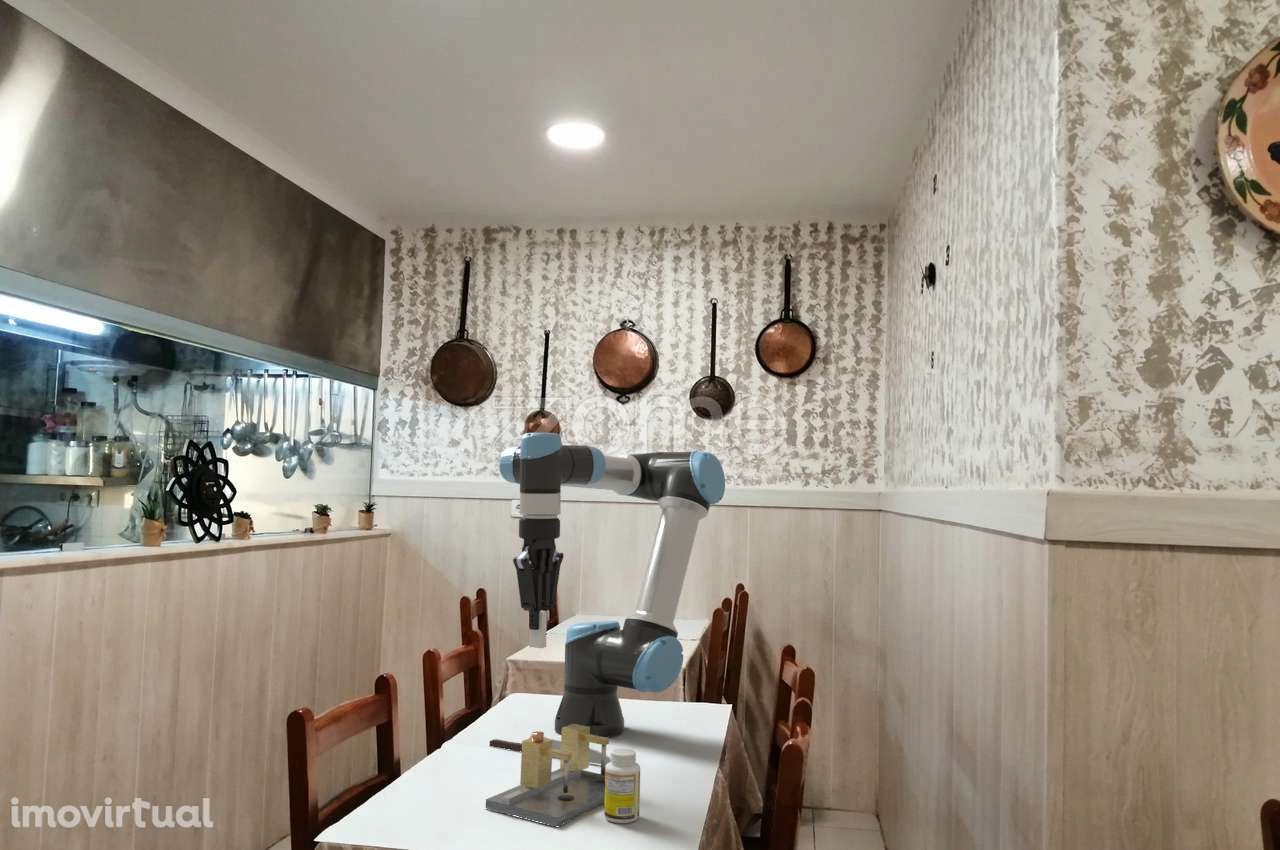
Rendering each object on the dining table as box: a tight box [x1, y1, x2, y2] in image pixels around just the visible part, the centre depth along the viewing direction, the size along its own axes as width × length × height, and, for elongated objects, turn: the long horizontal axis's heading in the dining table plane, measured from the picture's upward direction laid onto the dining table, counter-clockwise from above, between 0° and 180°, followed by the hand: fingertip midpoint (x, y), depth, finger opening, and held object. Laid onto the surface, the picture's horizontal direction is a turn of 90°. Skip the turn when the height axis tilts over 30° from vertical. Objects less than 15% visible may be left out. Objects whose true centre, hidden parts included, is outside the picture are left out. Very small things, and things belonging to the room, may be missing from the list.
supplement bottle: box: [603, 748, 641, 824], centre depth 140 cm, size 6×6×10 cm
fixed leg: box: [559, 724, 610, 776], centre depth 155 cm, size 4×8×7 cm, turn 60°
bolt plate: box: [485, 768, 605, 827], centre depth 148 cm, size 22×14×2 cm, turn 150°
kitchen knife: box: [488, 735, 611, 765], centre depth 171 cm, size 4×1×30 cm
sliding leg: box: [519, 731, 572, 793], centre depth 146 cm, size 4×8×8 cm, turn 60°
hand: (537, 646), depth 161 cm, fingers closed
